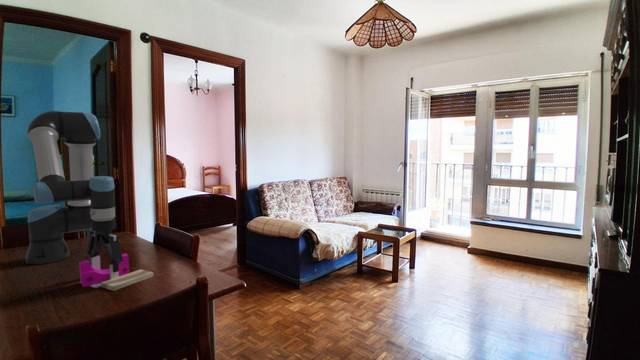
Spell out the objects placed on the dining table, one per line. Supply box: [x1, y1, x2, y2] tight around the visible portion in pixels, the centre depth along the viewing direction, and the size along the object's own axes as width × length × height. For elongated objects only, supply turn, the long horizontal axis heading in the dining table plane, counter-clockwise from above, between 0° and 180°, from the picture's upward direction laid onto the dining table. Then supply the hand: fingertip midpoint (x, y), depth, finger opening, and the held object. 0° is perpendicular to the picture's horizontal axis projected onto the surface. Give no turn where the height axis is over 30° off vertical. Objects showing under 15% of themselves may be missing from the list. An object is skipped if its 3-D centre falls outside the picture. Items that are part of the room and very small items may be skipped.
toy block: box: [78, 252, 130, 288], centre depth 124 cm, size 15×6×8 cm, turn 132°
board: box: [100, 269, 154, 291], centre depth 123 cm, size 8×15×2 cm, turn 152°
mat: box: [79, 281, 101, 289], centre depth 126 cm, size 10×13×1 cm
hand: (105, 276), depth 126 cm, fingers open, 11 cm apart
